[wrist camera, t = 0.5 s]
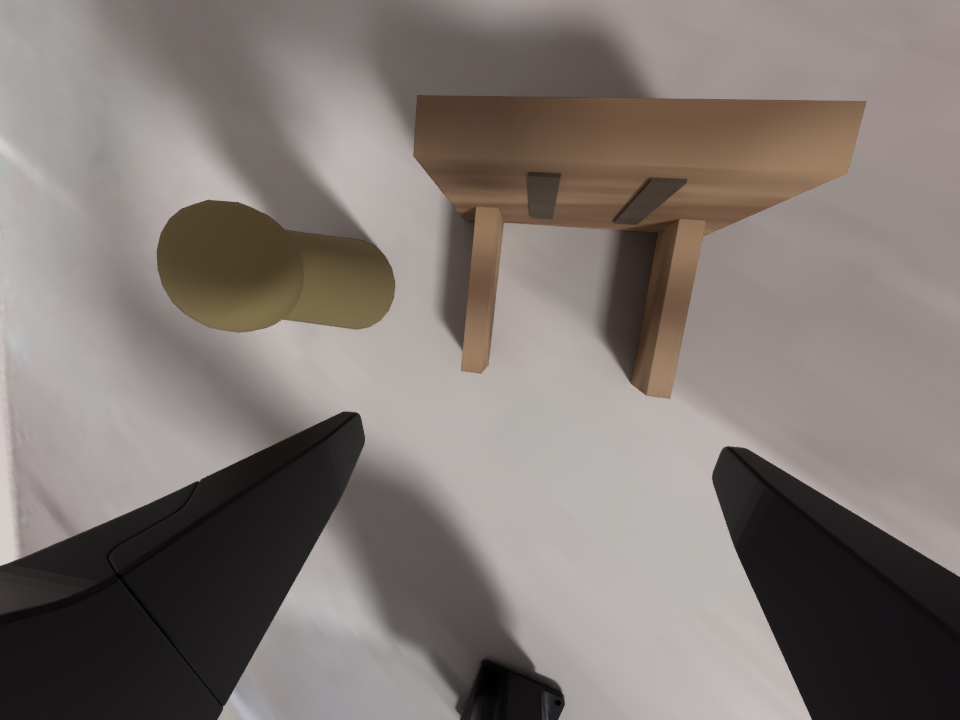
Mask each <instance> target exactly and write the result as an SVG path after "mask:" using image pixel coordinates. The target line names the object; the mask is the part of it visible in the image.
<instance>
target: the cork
mask: <svg viewBox="0 0 960 720" xmlns="http://www.w3.org/2000/svg"><path fill="white" fill-rule="evenodd" d="M157 266H158V272H159V275H160V278H161V282H162V285H163V287H164V289H165V291H166V292H167V294H168V296H169V297H170V299H171V301H172V302H173V303H174V304H175V305H176V306H177V307H178V308H179V309H180V310H181V311H182V312H183V313H184V314H186V315H187V316H189V317H191V318H192V319H194V320H196V321H198V322H200V323H202V324H203V325H205V326H207V327H209V328H214V329H219V330H225V331H231V332H238V333H239V332H249V331H254V330H259V329H264V328H267V327H270V326H272V325H274V324H276V323H278V322H279V321H281V320H282V319H283V320H291V321H298V322H305V323H313V324H320V325H327V326H335V327H342V328H350V329H362V328H367V327H370V326H372V325H374V324H375V323H377V322H379V321H380V320H381V319H382V318H383V317H384V315H385V314H386V313H387V312H388V311H389V309H390V306H391V304H392V301H393V298H394V291H395V280H394V276H393V271H392V268H391V266H390V264H389V262H388V261H387V259H386V257H385V256H384V255H383V254H382V253H381V252H380V251H379V250H378V249H377V248H376V247H375V246H373V245H371V244H369V243H367V242H365V241H363V240H356V239H349V238H341V237H334V236H326V235H319V234H311V233H304V232H296V231H289V230H285V229H284V228H283V227H282V226H280V225H279V224H278V223H277V222H276V221H275V220H273V219H272V218H271V217H269V216H268V215H266V214H264V213H262V212H260V211H258V210H256V209H254V208H251V207H249V206H246V205H244V204H241V203H239V202H227V201H215V200H206V201H203V202H200V203H197V204H193V205H190V206H188V207H185V208H182V209H181V210H179V211H178V212H177V213H176V214H175V215H173V216H172V217H171V218H170V219H169V220H168V222H167V224H166V225H165V227H164V229H163V230H162V232H161V235H160V239H159V243H158V248H157Z"/></svg>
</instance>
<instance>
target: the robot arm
mask: <svg viewBox="0 0 960 720" xmlns="http://www.w3.org/2000/svg"><path fill="white" fill-rule="evenodd" d="M364 443H365V435H364V430H363V425H362V420H361V416H360V415H359V414H358V413H356V412H341V413H339V414H337V415H335V416H333V417H331V418H329V419H327V420H325V421H323V422H320V423H318V424H316V425H314V426H312V427H310V428H308V429H306V430H304V431H302V432H300V433H297V434H295V435H293V436H291V437H289V438H287V439H285V440H283V441H281V442H279V443H276V444H274V445H272V446H270V447H268V448H266V449H264V450H262V451H260V452H258V453H255V454H253V455H251V456H249V457H247V458H245V459H243V460H241V461H239V462H237V463H234V464H232V465H230V466H228V467H226V468H224V469H222V470H220V471H218V472H216V473H213V474H211V475H209V476H207V477H205V478H203V479H201V480H200V482H198V481H197V482H194V483H192V484H190V485H188V486H186V487H184V488H182V489H180V490H178V491H175V492H173V493H171V494H169V495H167V496H165V497H162V498H160V499H158V500H156V501H154V502H152V503H150V504H147V505H145V506H143V507H140V508H138V509H136V510H134V511H131V512H129V513H127V514H124V515H122V516H120V517H117V518H115V519H113V520H110V521H108V522H106V523H103V524H101V525H99V526H96V527H94V528H92V529H89V530H87V531H84V532H82V533H80V534H77V535H75V536H73V537H70V538H68V539H66V540H63V541H61V542H59V543H56V544H54V545H51V546H49V547H47V548H44V549H42V550H40V551H37V552H35V553H33V554H30V555H28V556H26V557H23V558H21V559H18V560H15V561H13V562H10V563H8V564H5V565H2V566H0V720H217V719H218V717H219V716H220V714H221V712H222V710H223V706H224V705H225V704H226V703H227V701H228V699H229V697H230V695H231V694H232V692H233V690H234V688H235V686H236V685H237V683H238V681H239V679H240V677H241V676H242V674H243V672H244V670H245V669H246V667H247V665H248V663H249V661H250V660H251V658H252V656H253V654H254V652H255V651H256V649H257V647H258V645H259V643H260V642H261V640H262V638H263V636H264V635H265V633H266V631H267V629H268V627H269V626H270V624H271V622H272V620H273V618H274V617H275V615H276V613H277V611H278V610H279V608H280V606H281V604H282V602H283V601H284V599H285V597H286V595H287V593H288V592H289V590H290V588H291V586H292V584H293V583H294V581H295V579H296V577H297V576H298V574H299V572H300V570H301V568H302V567H303V565H304V563H305V561H306V559H307V558H308V556H309V554H310V552H311V550H312V549H313V547H314V545H315V543H316V542H317V540H318V538H319V536H320V534H321V533H322V531H323V529H324V527H325V525H326V524H327V522H328V520H329V518H330V516H331V515H332V513H333V511H334V509H335V508H336V506H337V504H338V502H339V500H340V498H341V496H342V494H343V492H344V490H345V488H346V486H347V483H348V481H349V479H350V476H351V474H352V472H353V469H354V467H355V465H356V462H357V460H358V458H359V456H360V453H361V451H362V449H363V446H364ZM712 480H713V485H714V488H715V491H716V494H717V497H718V500H719V503H720V506H721V509H722V512H723V515H724V518H725V521H726V524H727V527H728V530H729V533H730V536H731V539H732V542H733V544H734V547H735V550H736V552H737V554H738V557H739V559H740V561H741V563H742V566H743V568H744V570H745V572H746V575H747V577H748V579H749V581H750V583H751V586H752V588H753V590H754V592H755V594H756V597H757V599H758V601H759V603H760V606H761V608H762V610H763V612H764V614H765V617H766V619H767V621H768V623H769V625H770V628H771V630H772V632H773V634H774V637H775V639H776V641H777V643H778V645H779V648H780V650H781V652H782V654H783V656H784V659H785V661H786V663H787V665H788V668H789V670H790V672H791V674H792V676H793V679H794V681H795V683H796V685H797V687H798V690H799V692H800V694H801V696H802V699H803V701H804V703H805V705H806V707H807V710H808V712H809V714H810V716H811V718H812V720H960V577H959V576H957V575H956V574H954V573H952V572H951V571H949V570H947V569H946V568H944V567H942V566H941V565H939V564H937V563H936V562H934V561H932V560H931V559H929V558H927V557H926V556H924V555H922V554H921V553H919V552H918V551H916V550H914V549H913V548H911V547H909V546H908V545H906V544H904V543H903V542H901V541H899V540H898V539H896V538H894V537H893V536H891V535H889V534H888V533H886V532H884V531H883V530H881V529H879V528H878V527H876V526H874V525H873V524H871V523H869V522H868V521H866V520H864V519H863V518H861V517H859V516H858V515H856V514H854V513H853V512H851V511H849V510H848V509H846V508H844V507H843V506H841V505H839V504H838V503H836V502H834V501H833V500H831V499H829V498H828V497H826V496H825V495H823V494H821V493H820V492H818V491H816V490H815V489H813V488H811V487H810V486H808V485H806V484H805V483H803V482H801V481H800V480H798V479H796V478H795V477H793V476H791V475H790V474H788V473H786V472H785V471H783V470H781V469H780V468H778V467H776V466H775V465H773V464H771V463H770V462H768V461H766V460H765V459H763V458H761V457H760V456H758V455H756V454H755V453H753V452H751V451H750V450H748V449H746V448H740V447H729V446H727V447H724V448H723V449H722V451H721V453H720V455H719V458H718V460H717V463H716V466H715V468H714V471H713V475H712ZM564 705H565V700H564V695H563V694H562V693H561V692H560V691H557V690H555V689H553V688H550V687H548V686H546V685H543V684H541V683H539V682H537V681H534V680H532V679H530V678H527V677H525V676H523V675H520V674H518V673H516V672H514V671H511V670H509V669H507V668H504V667H502V666H500V665H497V664H495V663H493V662H491V661H488V660H483V661H482V662H481V663H480V666H479V669H478V671H477V674H476V677H475V679H474V682H473V684H472V687H471V690H470V692H469V695H468V698H467V700H466V703H465V706H464V708H463V711H462V713H461V716H460V720H558V719H559V716H560V714H561V712H562V710H563V708H564Z"/></svg>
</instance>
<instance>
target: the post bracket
mask: <svg viewBox="0 0 960 720" xmlns="http://www.w3.org/2000/svg"><path fill="white" fill-rule="evenodd" d="M865 105H866V101H811V100H734V99H656V98H579V97H502V96H424V95H417V108H416V124H415V139H414V155H413V156H414V157H415V158H416V160H417V161H418V162H419V164H420V165H421V166H422V167H423V169H424V170H425V171H426V172H427V174H428V175H429V176H430V177H431V179H432V180H433V181H434V182H435V184H436V185H437V186H438V187H439V189H440V190H441V191H442V192H443V194H444V195H445V196H446V197H447V199H448V200H449V201H450V203H451V204H452V205H453V206H454V208H455V209H456V210H457V211H458V213H459V214H460V215H461V216H462V218H463V219H464V220H475V226H474V236H473V247H472V258H471V268H470V279H469V290H468V300H467V311H466V322H465V332H464V343H463V353H462V364H461V371H465V372H473V373H480V374H481V373H482V372H483V371H484V370H485V369H486V367H487V366H488V364H489V355H490V346H491V336H492V327H493V318H494V308H495V299H496V290H497V280H498V271H499V262H500V252H501V243H502V234H503V224H504V222H505V223H520V224H535V225H550V226H565V227H580V228H595V229H610V230H625V231H640V232H655V233H658V236H657V241H656V247H655V252H654V258H653V263H652V269H651V275H650V280H649V286H648V291H647V297H646V302H645V308H644V314H643V319H642V325H641V330H640V336H639V341H638V347H637V353H636V358H635V364H634V369H633V375H632V380H631V384H632V385H633V386H635V387H636V388H637V389H639V390H640V391H641V392H642V393H644V394H645V395H646V396H653V397H661V398H668V399H670V397H671V392H672V387H673V382H674V377H675V372H676V367H677V362H678V357H679V352H680V347H681V343H682V338H683V333H684V328H685V323H686V318H687V313H688V308H689V303H690V298H691V293H692V288H693V283H694V278H695V273H696V268H697V263H698V258H699V253H700V248H701V243H702V238H703V236H705V235H708V234H710V233H712V232H714V231H717V230H719V229H721V228H724V227H726V226H728V225H730V224H733V223H735V222H737V221H740V220H742V219H744V218H746V217H749V216H751V215H753V214H756V213H758V212H760V211H762V210H765V209H767V208H769V207H772V206H774V205H776V204H779V203H781V202H783V201H785V200H788V199H790V198H792V197H795V196H797V195H799V194H801V193H804V192H806V191H808V190H811V189H813V188H815V187H817V186H820V185H822V184H824V183H827V182H829V181H831V180H833V179H836V178H838V177H840V176H843V175H845V174H847V173H848V170H849V167H850V163H851V159H852V155H853V151H854V147H855V144H856V140H857V136H858V132H859V128H860V124H861V120H862V117H863V113H864V109H865Z"/></svg>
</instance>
